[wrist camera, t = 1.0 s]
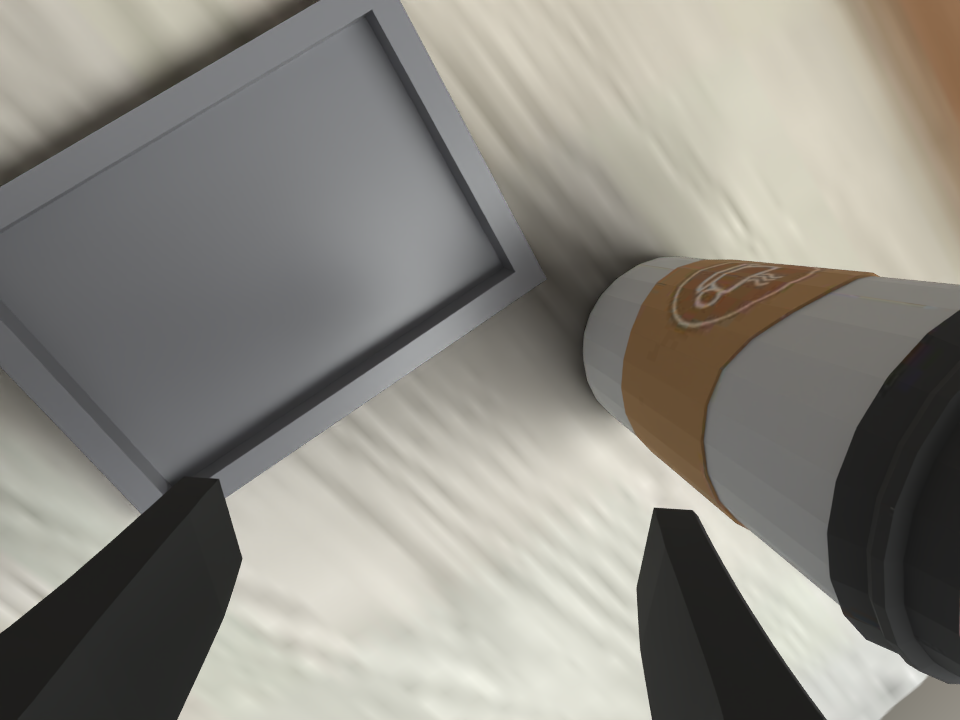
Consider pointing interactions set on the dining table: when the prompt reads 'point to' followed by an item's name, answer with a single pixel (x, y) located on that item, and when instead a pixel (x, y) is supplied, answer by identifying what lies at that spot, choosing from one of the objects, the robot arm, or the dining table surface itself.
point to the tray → (253, 253)
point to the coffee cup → (806, 424)
